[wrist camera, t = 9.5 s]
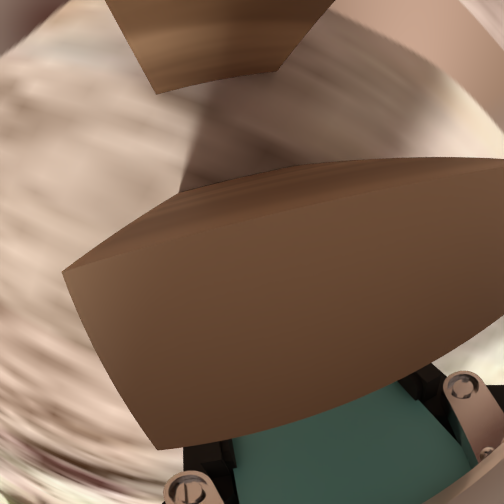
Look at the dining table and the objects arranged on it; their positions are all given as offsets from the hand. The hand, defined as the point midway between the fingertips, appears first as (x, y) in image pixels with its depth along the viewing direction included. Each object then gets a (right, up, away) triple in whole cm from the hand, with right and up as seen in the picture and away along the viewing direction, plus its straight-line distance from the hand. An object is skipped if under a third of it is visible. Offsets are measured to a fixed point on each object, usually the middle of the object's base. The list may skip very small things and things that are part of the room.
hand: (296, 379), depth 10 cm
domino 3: (0, 0, +2) cm, 2 cm away
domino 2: (-2, +7, +2) cm, 7 cm away
